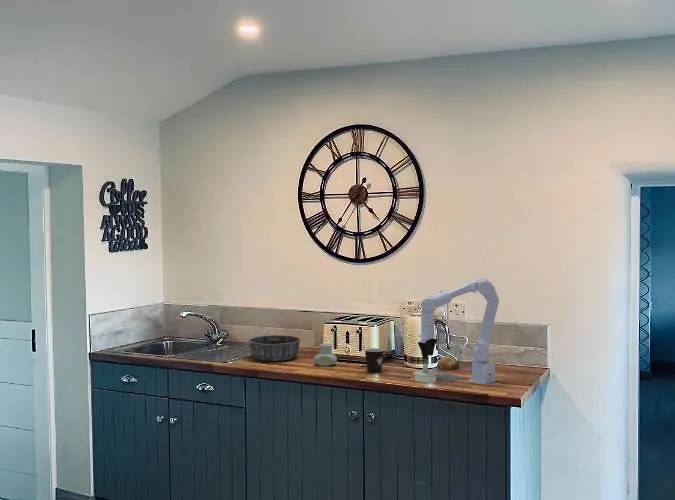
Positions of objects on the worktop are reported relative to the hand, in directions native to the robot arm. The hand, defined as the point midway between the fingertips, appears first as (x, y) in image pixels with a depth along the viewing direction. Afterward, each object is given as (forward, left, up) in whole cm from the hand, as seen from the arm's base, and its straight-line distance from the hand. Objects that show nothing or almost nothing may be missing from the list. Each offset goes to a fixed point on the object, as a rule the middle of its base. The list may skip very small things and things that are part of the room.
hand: (427, 356), depth 310 cm
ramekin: (-1, +2, -10) cm, 11 cm away
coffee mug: (+27, +6, -10) cm, 29 cm away
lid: (-1, +2, -7) cm, 8 cm away
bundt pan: (+82, +28, -10) cm, 87 cm away
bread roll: (+12, -24, -10) cm, 29 cm away
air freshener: (+53, +17, -10) cm, 57 cm away
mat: (-2, -9, -10) cm, 14 cm away
